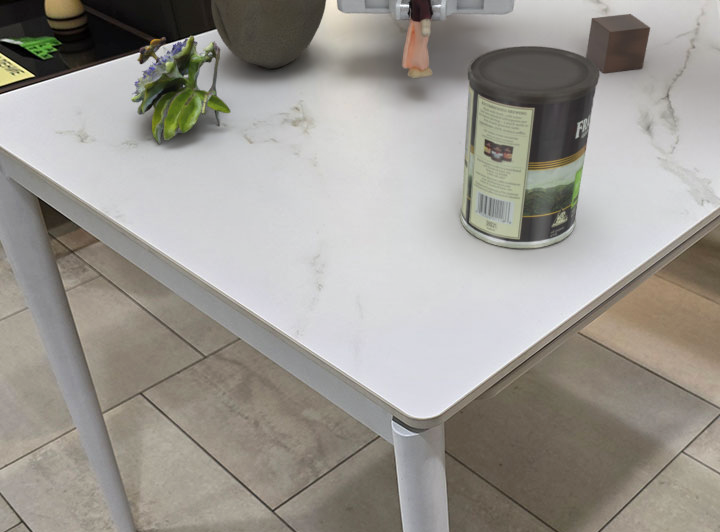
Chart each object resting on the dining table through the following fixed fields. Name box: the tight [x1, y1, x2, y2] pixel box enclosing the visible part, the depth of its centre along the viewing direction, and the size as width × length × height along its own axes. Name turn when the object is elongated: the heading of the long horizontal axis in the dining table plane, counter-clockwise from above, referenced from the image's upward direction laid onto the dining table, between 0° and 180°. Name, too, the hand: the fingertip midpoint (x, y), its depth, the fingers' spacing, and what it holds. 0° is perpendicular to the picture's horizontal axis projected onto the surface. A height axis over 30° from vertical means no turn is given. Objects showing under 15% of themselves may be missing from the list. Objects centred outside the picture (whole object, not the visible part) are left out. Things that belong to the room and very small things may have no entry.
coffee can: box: [459, 45, 600, 250], centre depth 73 cm, size 10×10×14 cm
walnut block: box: [585, 13, 651, 74], centre depth 102 cm, size 5×5×5 cm
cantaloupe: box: [210, 0, 327, 69], centre depth 104 cm, size 14×14×15 cm
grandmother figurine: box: [401, 0, 433, 79], centre depth 93 cm, size 8×4×13 cm, turn 12°
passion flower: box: [130, 35, 231, 145], centre depth 94 cm, size 11×11×12 cm
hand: (420, 13), depth 92 cm, fingers closed on grandmother figurine, 2 cm apart
